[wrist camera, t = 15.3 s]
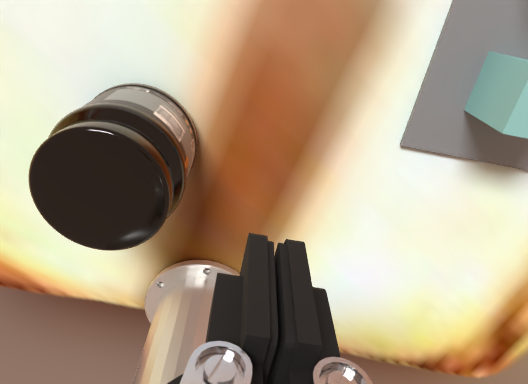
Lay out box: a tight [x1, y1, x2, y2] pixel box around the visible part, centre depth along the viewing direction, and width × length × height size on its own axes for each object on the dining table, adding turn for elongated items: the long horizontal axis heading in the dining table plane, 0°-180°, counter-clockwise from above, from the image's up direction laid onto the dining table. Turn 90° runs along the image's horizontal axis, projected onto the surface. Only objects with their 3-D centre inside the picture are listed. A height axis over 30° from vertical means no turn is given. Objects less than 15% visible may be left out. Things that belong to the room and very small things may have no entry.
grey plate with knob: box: [400, 0, 528, 170], centre depth 34 cm, size 14×14×6 cm
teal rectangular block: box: [464, 51, 528, 139], centre depth 33 cm, size 5×5×7 cm
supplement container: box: [29, 83, 197, 251], centre depth 33 cm, size 10×10×12 cm
